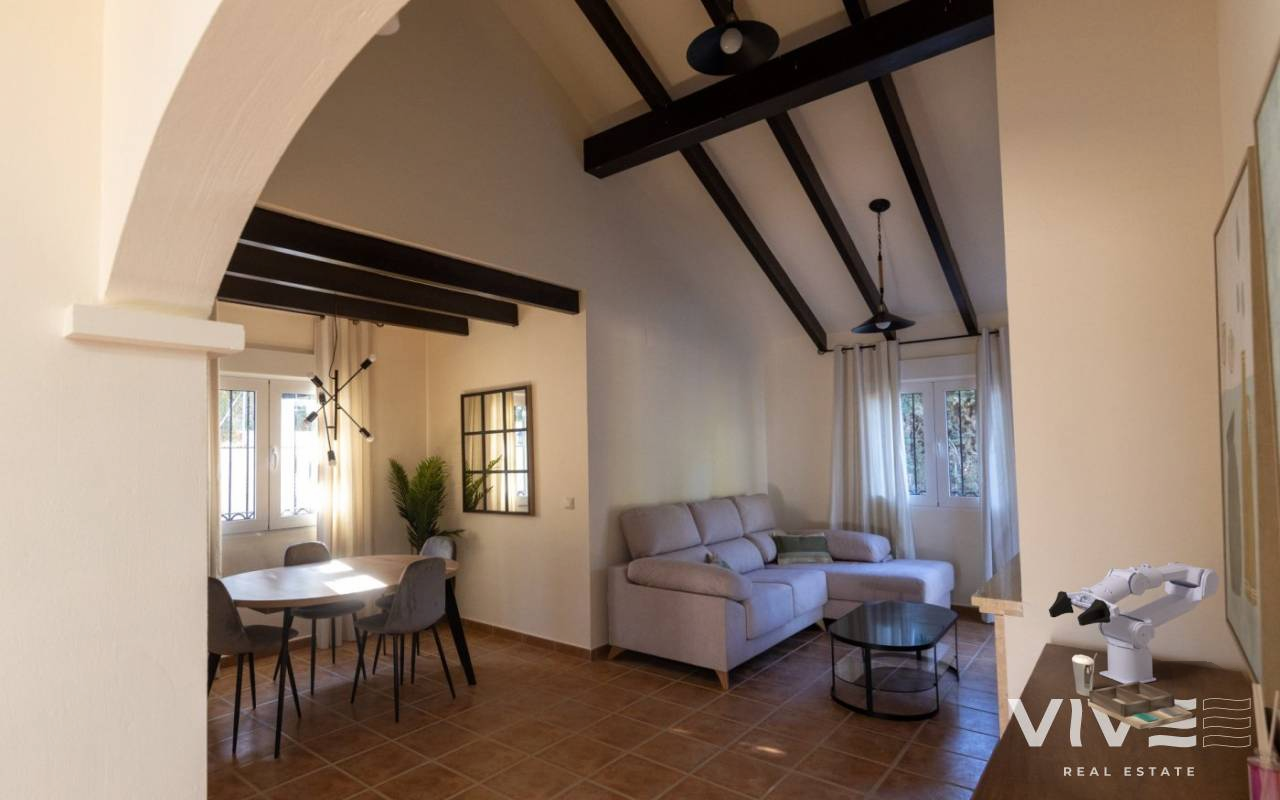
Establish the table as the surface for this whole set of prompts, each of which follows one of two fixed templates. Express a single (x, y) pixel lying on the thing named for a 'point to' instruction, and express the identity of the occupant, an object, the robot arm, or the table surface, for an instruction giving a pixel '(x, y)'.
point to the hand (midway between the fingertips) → (1064, 617)
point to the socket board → (1137, 705)
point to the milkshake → (1083, 673)
